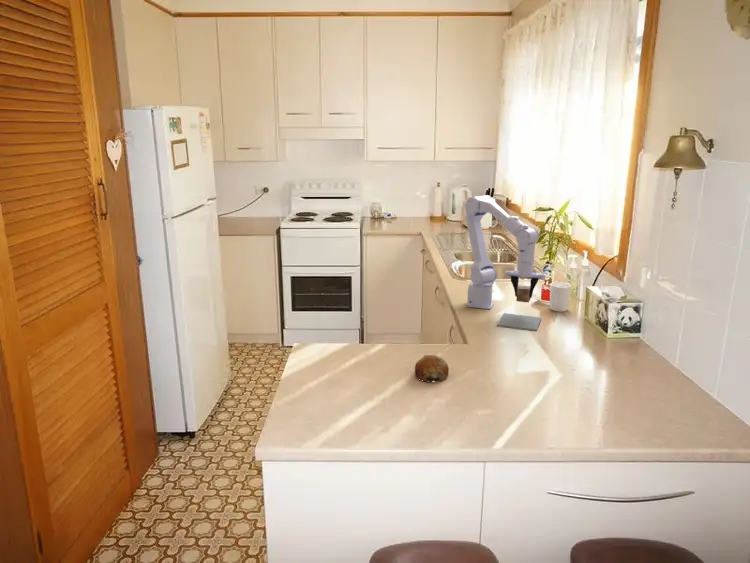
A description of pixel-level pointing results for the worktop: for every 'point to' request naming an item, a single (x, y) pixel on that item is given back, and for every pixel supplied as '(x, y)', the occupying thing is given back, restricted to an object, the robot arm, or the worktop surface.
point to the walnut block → (523, 293)
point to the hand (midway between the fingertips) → (523, 296)
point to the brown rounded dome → (431, 368)
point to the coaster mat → (519, 322)
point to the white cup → (559, 296)
